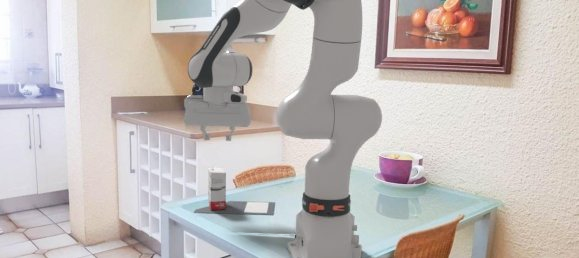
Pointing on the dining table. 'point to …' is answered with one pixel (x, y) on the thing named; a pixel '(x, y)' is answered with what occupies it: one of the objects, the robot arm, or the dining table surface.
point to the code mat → (242, 208)
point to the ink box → (216, 188)
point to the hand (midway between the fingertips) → (217, 140)
